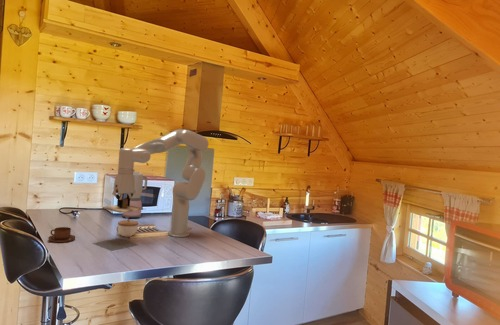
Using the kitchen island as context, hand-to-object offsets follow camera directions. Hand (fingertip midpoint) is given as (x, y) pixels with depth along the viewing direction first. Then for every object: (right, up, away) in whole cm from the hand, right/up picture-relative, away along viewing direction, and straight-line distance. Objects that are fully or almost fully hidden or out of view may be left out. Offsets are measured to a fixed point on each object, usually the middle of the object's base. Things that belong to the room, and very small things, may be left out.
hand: (123, 206), depth 180 cm
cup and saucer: (-29, -17, -7) cm, 34 cm away
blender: (-15, -16, +62) cm, 66 cm away
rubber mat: (-2, -19, -6) cm, 20 cm away
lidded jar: (-3, -19, +13) cm, 23 cm away
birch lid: (0, -2, 0) cm, 1 cm away
